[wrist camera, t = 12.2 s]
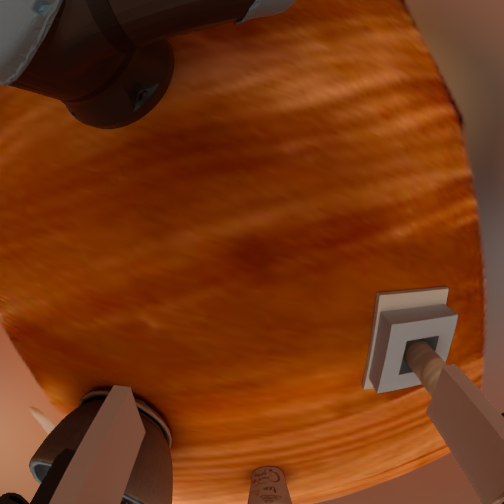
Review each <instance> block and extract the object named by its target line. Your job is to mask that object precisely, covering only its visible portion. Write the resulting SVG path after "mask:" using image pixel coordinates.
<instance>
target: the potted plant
mask: <svg viewBox="0 0 504 504" xmlns="http://www.w3.org/2000/svg"><path fill="white" fill-rule="evenodd" d="M110 391H111V390H104V389H100V390H96V391H91V392H89V393H87V394H86V395H84V396H83V397H82V399H81V400H80V405H79V407H78V408H76V409H75V410H74V411H72V412H71V413H70V414H68V415H67V416H66V417H65V418H64V419H63V420H62V421H61V422H60V423H59V424H58V425H57V426H56V427H55V428H54V430H53V431H52V432H51V433H50V434H49V435H48V436H47V438H46V439H45V440H44V441H43V443H42V444H41V446H40V447H39V449H38V450H37V451H36V453H35V454H34V456H33V457H32V458H31V460H30V463H29V467H30V471H31V473H32V474H33V476H34V478H35V479H36V480H37V482H38V483H39V484H41V483H42V481H43V479H44V477H45V476H47V472H48V470H49V468H51V465H52V463H53V461H54V460H55V458H56V456H57V455H58V454H60V453H61V452H62V451H63V450H65V449H66V448H67V449H71V450H74V451H77V449H78V447H79V445H80V444H81V442H82V440H83V438H84V436H85V434H86V433H87V431H88V429H89V427H90V426H91V424H92V422H93V420H94V418H95V417H96V415H97V413H98V412H99V410H100V408H101V406H102V405H103V403H104V401H105V399H106V398H107V396H108V394H109V393H110ZM134 400H135V403H136V406H137V409H138V412H139V415H140V418H141V420H142V423H143V426H144V429H145V431H146V432H145V435H144V438H143V441H142V443H141V446H140V449H139V452H138V454H137V457H136V460H135V463H134V466H133V468H132V471H131V474H130V477H129V480H128V483H127V486H126V489H125V491H124V494H123V497H122V500H121V503H120V504H172V490H173V472H172V460H171V454H170V451H169V448H170V447H171V443H172V438H171V433H170V430H169V428H168V426H167V425H166V423H165V422H164V420H163V419H162V418H161V416H160V415H159V414H158V413H157V412H156V411H154V410H153V409H152V408H150V407H149V406H148V405H147V404H146V403H145V402H144V401H142V400H140V399H137V398H135V397H134Z"/></svg>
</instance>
